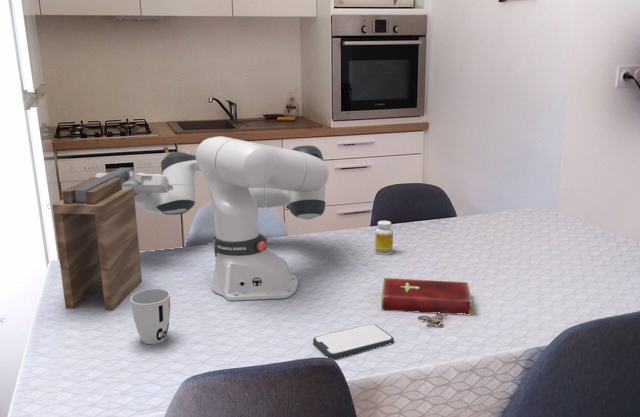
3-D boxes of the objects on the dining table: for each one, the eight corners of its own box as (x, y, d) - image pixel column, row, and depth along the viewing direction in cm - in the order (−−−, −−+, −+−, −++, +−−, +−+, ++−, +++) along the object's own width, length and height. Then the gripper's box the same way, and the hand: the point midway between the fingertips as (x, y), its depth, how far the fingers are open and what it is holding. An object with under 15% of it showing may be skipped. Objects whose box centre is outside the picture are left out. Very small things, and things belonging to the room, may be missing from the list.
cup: (162, 349, 124) (159, 305, 122) (127, 345, 126) (123, 302, 123) (179, 331, 132) (176, 290, 129) (145, 328, 134) (141, 287, 131)
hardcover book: (471, 317, 140) (472, 300, 138) (381, 311, 143) (381, 295, 141) (466, 296, 151) (467, 281, 150) (383, 292, 154) (384, 276, 153)
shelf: (141, 281, 160) (132, 176, 152) (113, 310, 143) (100, 193, 135) (99, 279, 161) (87, 175, 154) (65, 308, 144) (50, 192, 136)
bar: (132, 178, 163) (131, 167, 162) (87, 202, 138) (86, 190, 137) (121, 178, 163) (120, 167, 163) (75, 202, 139) (73, 190, 138)
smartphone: (373, 328, 135) (310, 344, 127) (373, 322, 134) (310, 337, 127) (396, 345, 127) (330, 362, 120) (396, 338, 127) (330, 355, 119)
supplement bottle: (372, 250, 184) (373, 220, 181) (389, 248, 185) (389, 219, 182) (377, 256, 179) (378, 225, 176) (394, 254, 180) (395, 224, 177)
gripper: (174, 200, 171) (157, 186, 158) (106, 198, 173) (83, 184, 160) (176, 179, 173) (160, 163, 159) (108, 177, 175) (87, 162, 161)
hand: (121, 174), depth 160 cm, fingers closed on bar, 3 cm apart
